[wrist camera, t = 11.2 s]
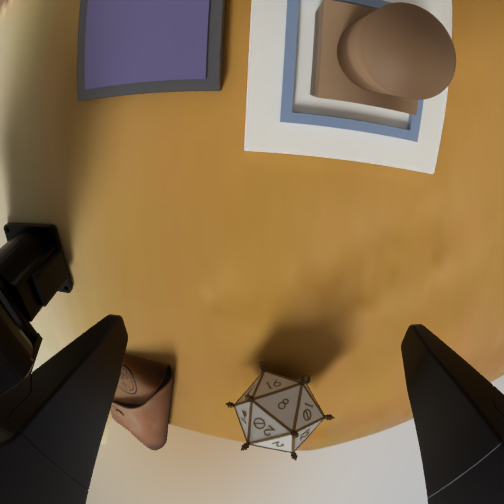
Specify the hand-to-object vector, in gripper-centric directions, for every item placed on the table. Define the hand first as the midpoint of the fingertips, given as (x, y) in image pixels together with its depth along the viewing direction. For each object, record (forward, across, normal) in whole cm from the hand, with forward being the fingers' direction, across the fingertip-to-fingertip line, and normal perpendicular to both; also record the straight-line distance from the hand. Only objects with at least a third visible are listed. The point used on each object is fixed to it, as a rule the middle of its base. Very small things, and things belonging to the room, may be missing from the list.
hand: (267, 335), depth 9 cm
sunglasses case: (+13, +14, +26) cm, 32 cm away
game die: (+12, -2, +18) cm, 22 cm away
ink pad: (+12, +7, -11) cm, 18 cm away
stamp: (+11, -5, -9) cm, 15 cm away
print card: (+12, -5, -9) cm, 15 cm away
